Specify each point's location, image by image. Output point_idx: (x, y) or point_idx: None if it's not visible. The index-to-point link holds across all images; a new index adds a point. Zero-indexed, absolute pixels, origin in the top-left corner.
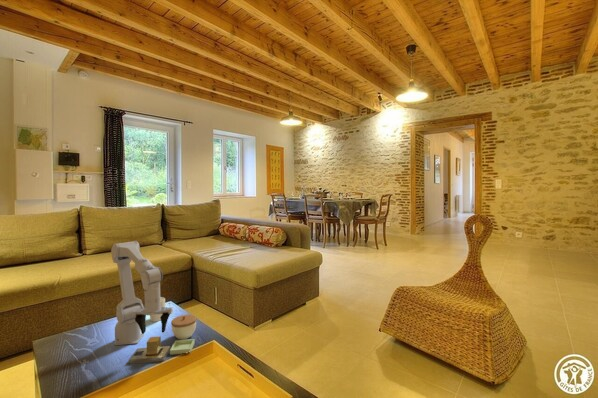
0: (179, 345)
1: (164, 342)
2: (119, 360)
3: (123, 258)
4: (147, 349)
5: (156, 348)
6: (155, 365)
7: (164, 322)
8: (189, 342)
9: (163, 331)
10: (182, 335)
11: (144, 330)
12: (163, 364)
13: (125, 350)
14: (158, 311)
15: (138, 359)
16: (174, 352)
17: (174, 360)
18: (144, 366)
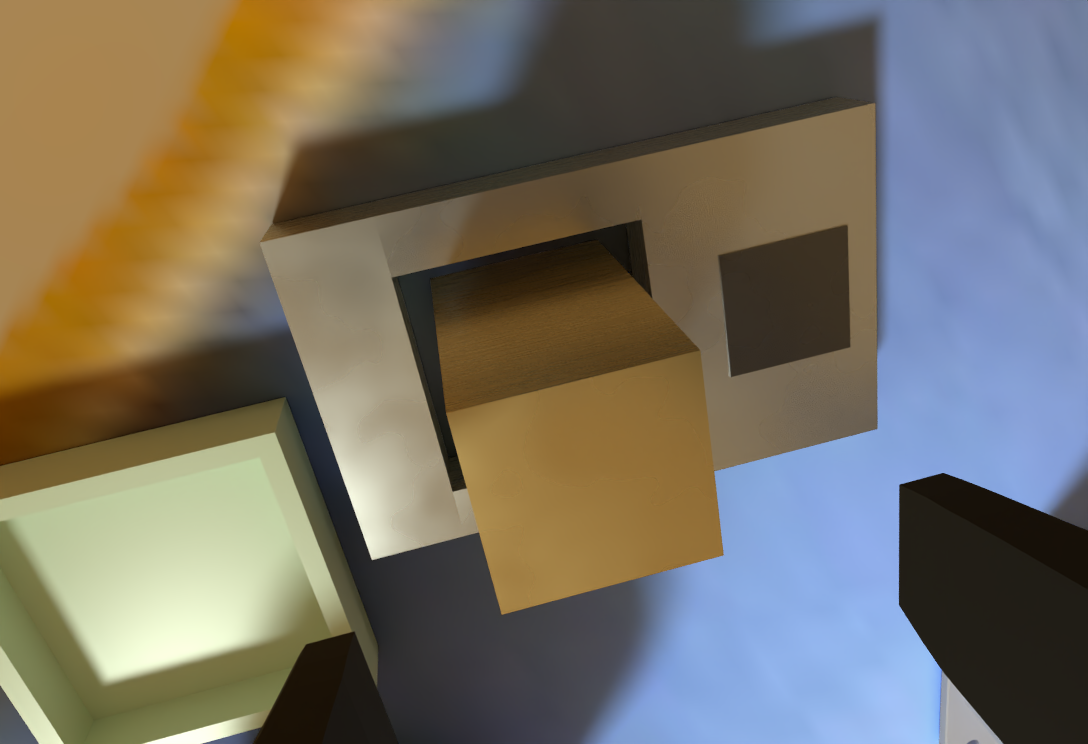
0: (271, 622)
1: (580, 660)
2: (1017, 177)
3: None
4: (634, 296)
5: (457, 340)
6: (336, 72)
7: None
8: (151, 709)
9: (295, 663)
10: None
11: (939, 589)
12: (201, 112)
13: (1031, 422)
14: None
15: (708, 136)
16: (198, 430)
17: (75, 251)
18: (525, 29)
